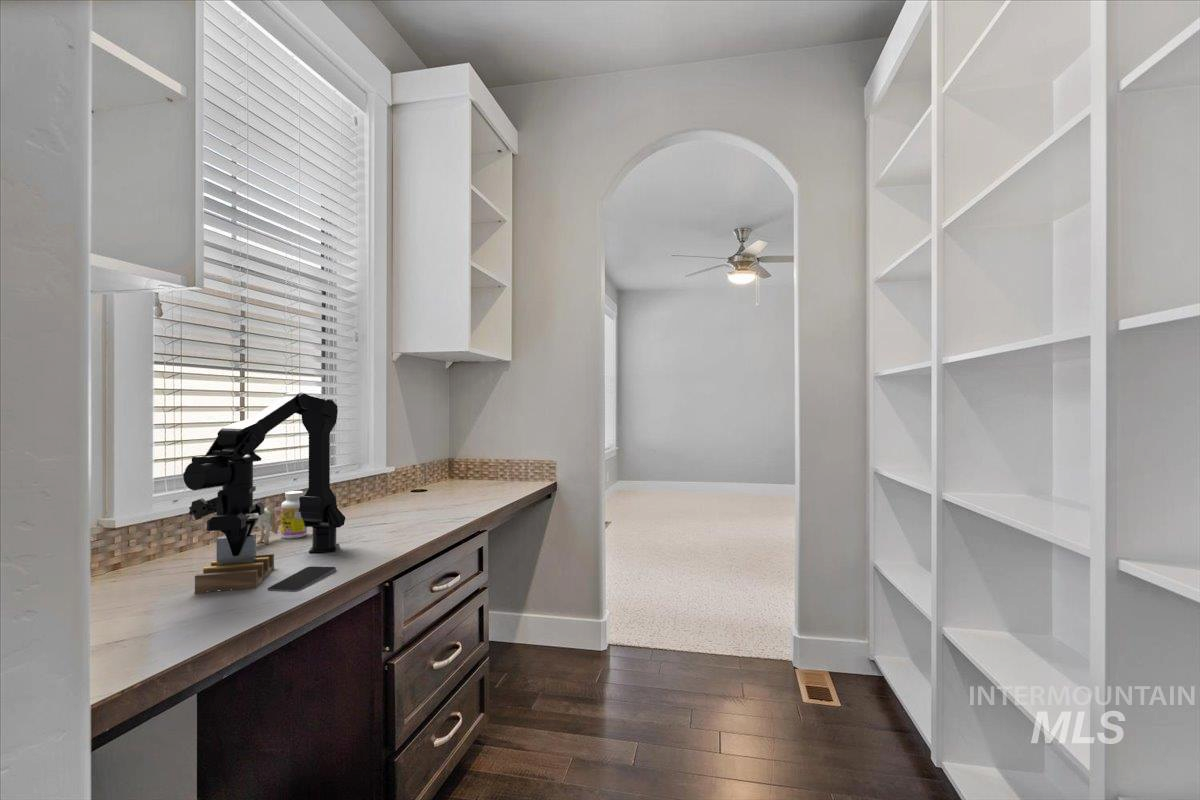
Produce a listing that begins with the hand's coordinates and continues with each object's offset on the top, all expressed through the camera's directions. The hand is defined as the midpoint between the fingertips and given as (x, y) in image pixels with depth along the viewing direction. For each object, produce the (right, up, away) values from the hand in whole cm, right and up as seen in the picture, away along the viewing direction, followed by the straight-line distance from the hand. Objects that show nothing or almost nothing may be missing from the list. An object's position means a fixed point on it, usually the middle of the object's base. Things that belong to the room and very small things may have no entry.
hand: (237, 554), depth 125 cm
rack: (0, -6, 0) cm, 6 cm away
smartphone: (+15, -6, 0) cm, 16 cm away
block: (0, -4, 0) cm, 4 cm away
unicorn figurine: (-12, -6, +27) cm, 30 cm away
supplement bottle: (-9, -6, +41) cm, 42 cm away
